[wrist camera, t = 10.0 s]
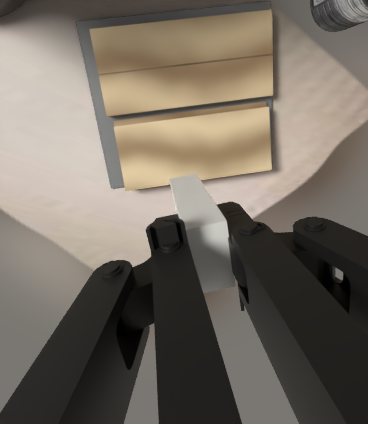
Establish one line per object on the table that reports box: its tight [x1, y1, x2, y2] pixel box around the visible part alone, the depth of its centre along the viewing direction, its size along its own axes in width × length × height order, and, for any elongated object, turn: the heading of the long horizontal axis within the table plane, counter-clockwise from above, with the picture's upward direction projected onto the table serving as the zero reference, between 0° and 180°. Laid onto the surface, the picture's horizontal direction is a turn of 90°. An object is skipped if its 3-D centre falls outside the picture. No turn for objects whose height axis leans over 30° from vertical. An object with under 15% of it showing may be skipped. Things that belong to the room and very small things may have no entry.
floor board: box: [89, 10, 273, 116], centre depth 31 cm, size 8×18×1 cm, turn 97°
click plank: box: [113, 102, 272, 191], centre depth 34 cm, size 8×17×1 cm, turn 97°
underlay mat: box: [76, 1, 272, 188], centre depth 33 cm, size 17×20×1 cm
